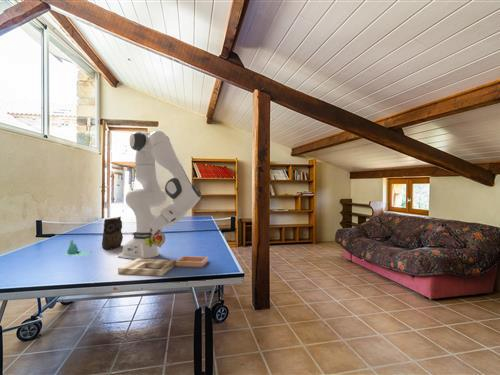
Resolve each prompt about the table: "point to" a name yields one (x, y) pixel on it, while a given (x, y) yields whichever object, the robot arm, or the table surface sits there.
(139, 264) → the puzzle board
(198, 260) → the terracotta tray
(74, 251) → the diorama
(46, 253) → the table surface
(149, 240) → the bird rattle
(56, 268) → the table surface
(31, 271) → the table surface
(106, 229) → the brown owl figurine
